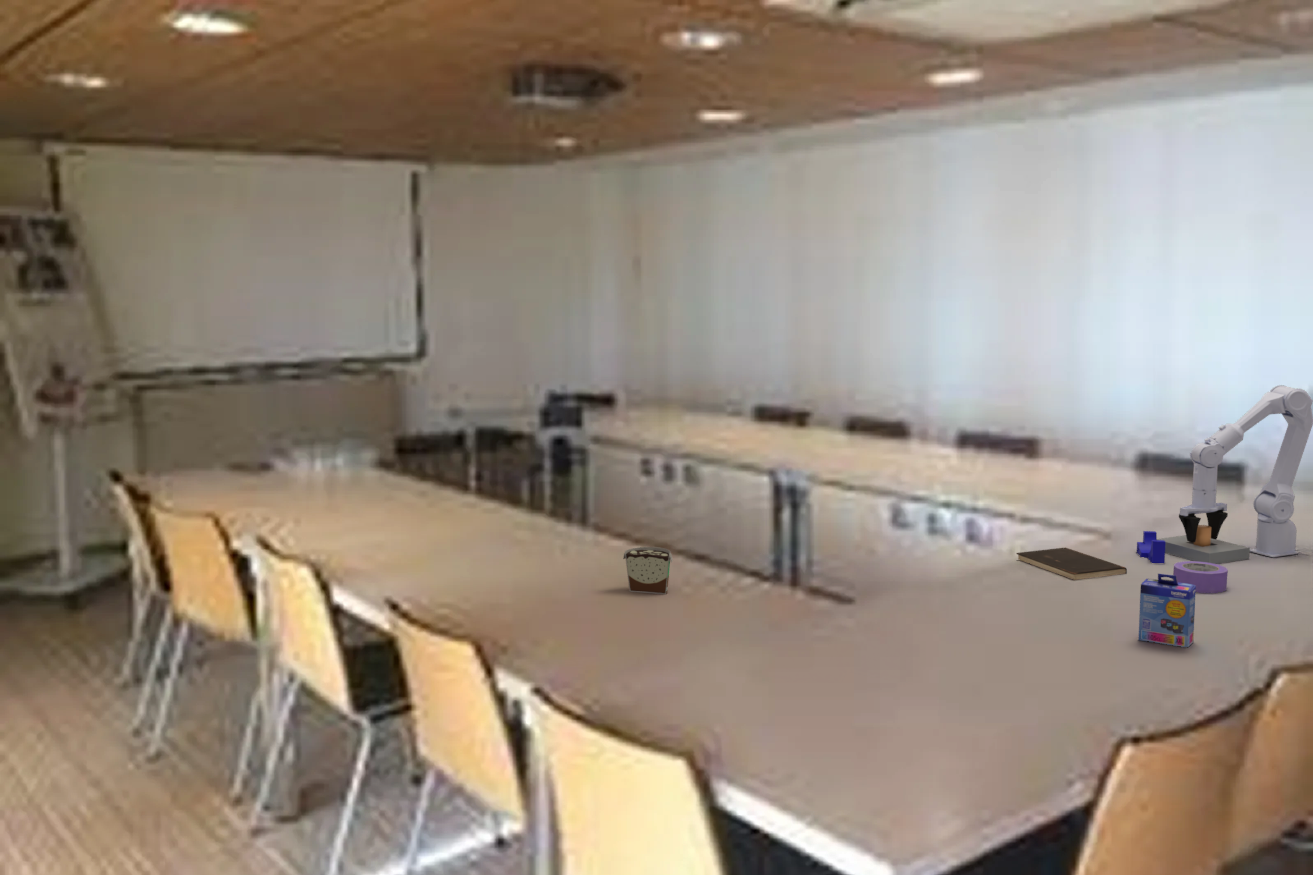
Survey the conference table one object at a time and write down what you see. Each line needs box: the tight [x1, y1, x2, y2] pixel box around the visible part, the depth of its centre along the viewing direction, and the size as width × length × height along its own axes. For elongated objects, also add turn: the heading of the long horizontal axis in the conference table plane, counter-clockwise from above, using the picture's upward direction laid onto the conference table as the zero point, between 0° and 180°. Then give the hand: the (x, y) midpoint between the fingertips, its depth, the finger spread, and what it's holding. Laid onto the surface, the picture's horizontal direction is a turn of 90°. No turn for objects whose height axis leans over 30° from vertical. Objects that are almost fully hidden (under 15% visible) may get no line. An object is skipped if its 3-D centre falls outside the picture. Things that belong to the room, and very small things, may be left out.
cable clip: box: [1136, 530, 1166, 564], centre depth 319 cm, size 12×4×6 cm, turn 169°
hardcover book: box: [1016, 547, 1128, 581], centre depth 312 cm, size 16×23×2 cm
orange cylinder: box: [1194, 524, 1212, 547], centre depth 321 cm, size 4×4×7 cm
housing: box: [1157, 534, 1251, 565], centre depth 322 cm, size 14×18×3 cm
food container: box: [623, 546, 674, 595], centre depth 296 cm, size 12×6×10 cm, turn 71°
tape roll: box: [1172, 560, 1229, 594], centre depth 291 cm, size 12×12×5 cm
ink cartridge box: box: [1138, 573, 1196, 648], centre depth 250 cm, size 10×6×14 cm, turn 55°
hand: (1202, 540), depth 322 cm, fingers open, 7 cm apart
